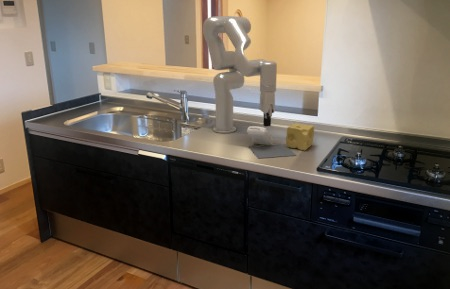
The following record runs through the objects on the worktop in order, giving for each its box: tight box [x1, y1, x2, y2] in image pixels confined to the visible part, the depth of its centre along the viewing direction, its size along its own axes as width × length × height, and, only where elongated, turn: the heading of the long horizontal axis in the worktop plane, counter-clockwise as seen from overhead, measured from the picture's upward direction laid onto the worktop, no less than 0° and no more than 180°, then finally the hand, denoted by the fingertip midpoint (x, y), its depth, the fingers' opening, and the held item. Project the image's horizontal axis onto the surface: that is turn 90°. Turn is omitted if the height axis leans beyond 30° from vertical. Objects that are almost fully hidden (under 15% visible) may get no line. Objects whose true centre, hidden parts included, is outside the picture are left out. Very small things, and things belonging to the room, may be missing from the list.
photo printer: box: [246, 125, 275, 145], centre depth 193 cm, size 10×4×12 cm
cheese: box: [285, 122, 315, 151], centre depth 194 cm, size 10×11×10 cm
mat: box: [248, 143, 297, 160], centre depth 189 cm, size 16×18×1 cm
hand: (267, 125), depth 194 cm, fingers closed
